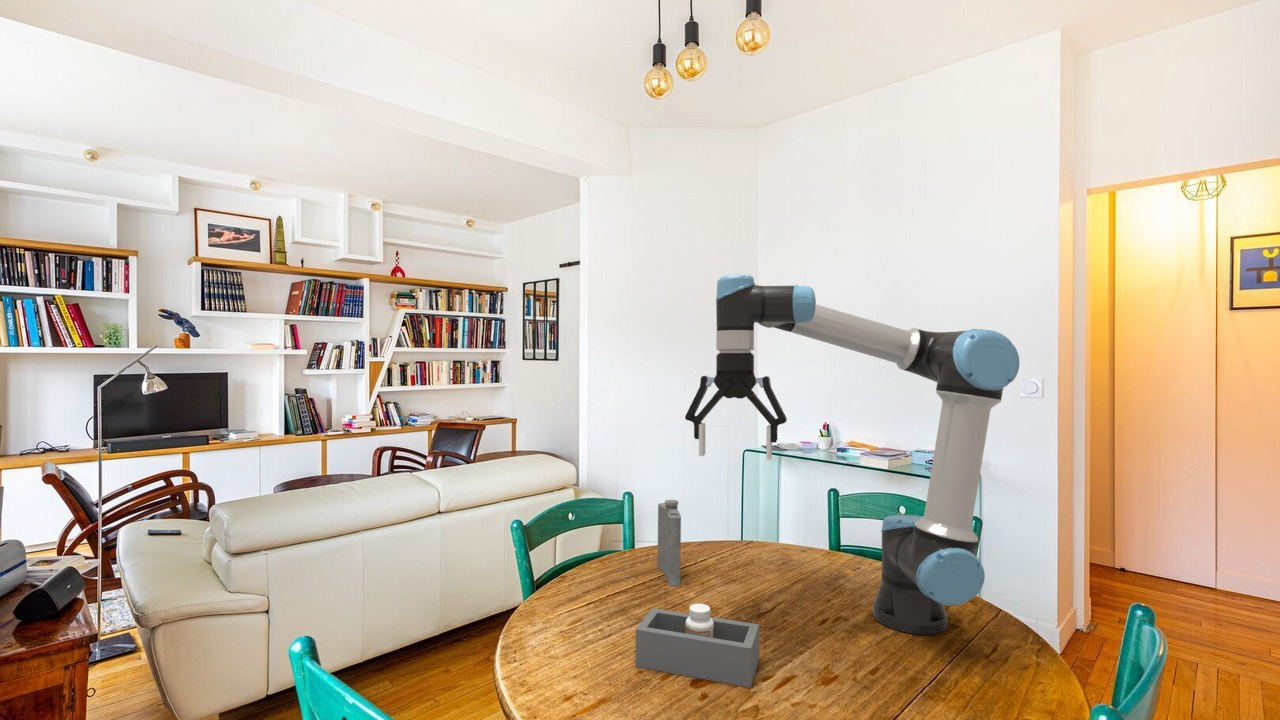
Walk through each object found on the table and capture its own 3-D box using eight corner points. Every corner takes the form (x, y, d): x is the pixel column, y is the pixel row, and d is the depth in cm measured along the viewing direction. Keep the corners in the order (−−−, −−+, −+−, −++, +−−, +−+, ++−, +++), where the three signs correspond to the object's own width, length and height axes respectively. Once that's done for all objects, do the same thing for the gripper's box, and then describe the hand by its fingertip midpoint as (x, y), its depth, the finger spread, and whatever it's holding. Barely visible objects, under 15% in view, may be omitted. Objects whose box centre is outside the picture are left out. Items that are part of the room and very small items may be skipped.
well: (758, 660, 116) (759, 624, 116) (750, 688, 106) (751, 648, 106) (652, 642, 123) (652, 608, 123) (635, 666, 113) (635, 629, 113)
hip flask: (656, 565, 168) (657, 494, 168) (670, 564, 169) (671, 493, 169) (669, 586, 153) (670, 508, 153) (685, 586, 153) (685, 507, 153)
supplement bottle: (695, 648, 118) (696, 599, 118) (719, 657, 115) (719, 607, 114) (679, 659, 114) (679, 608, 114) (703, 669, 110) (703, 616, 110)
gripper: (799, 352, 121) (799, 457, 121) (680, 352, 129) (680, 451, 129) (797, 351, 114) (797, 463, 114) (670, 352, 122) (670, 456, 122)
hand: (735, 457), depth 122 cm, fingers open, 13 cm apart
